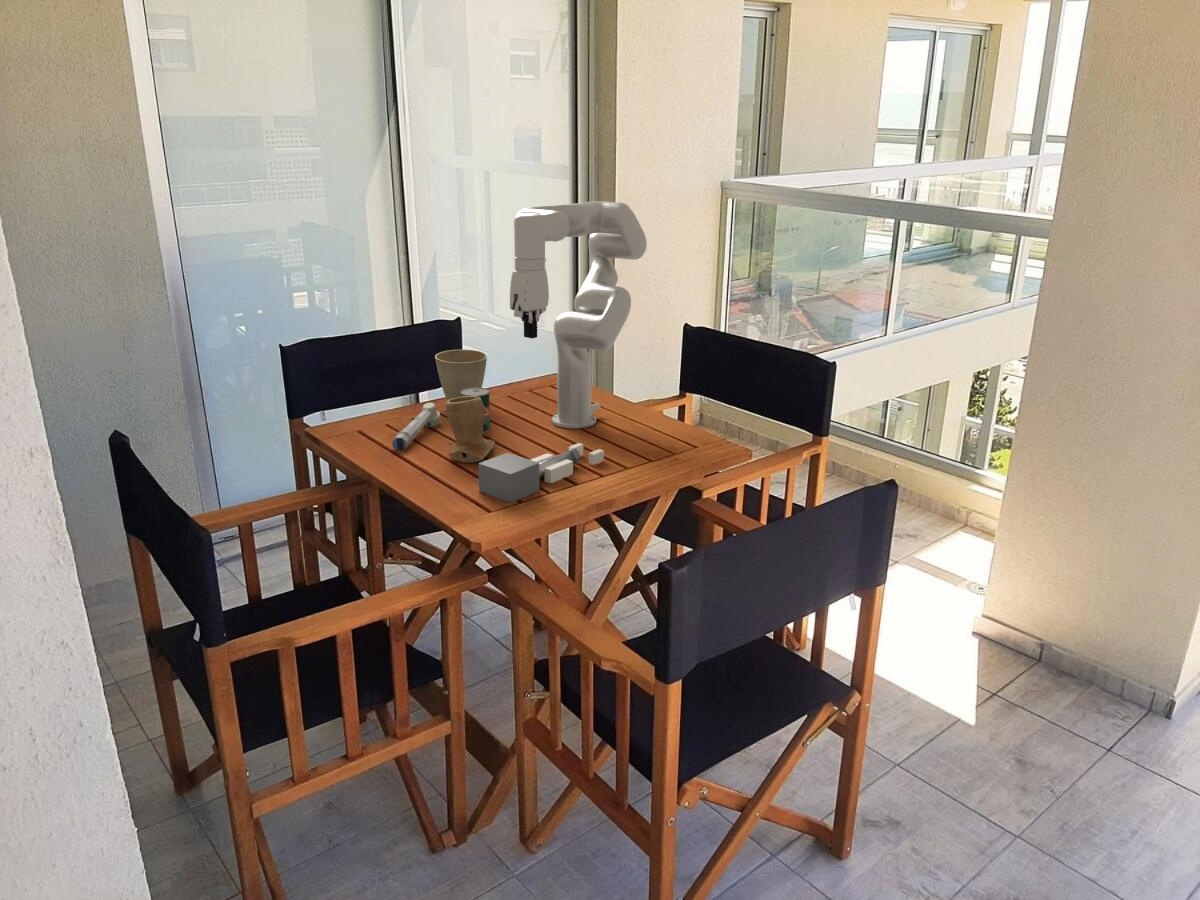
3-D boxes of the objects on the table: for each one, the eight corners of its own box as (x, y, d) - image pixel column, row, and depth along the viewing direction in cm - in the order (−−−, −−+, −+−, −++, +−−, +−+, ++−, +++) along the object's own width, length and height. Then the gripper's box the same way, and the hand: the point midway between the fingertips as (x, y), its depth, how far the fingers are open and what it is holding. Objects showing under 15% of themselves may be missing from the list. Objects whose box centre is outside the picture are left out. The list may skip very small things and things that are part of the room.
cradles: (578, 453, 242) (578, 441, 241) (603, 461, 237) (603, 448, 236) (525, 475, 228) (525, 461, 227) (550, 483, 223) (550, 470, 222)
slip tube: (567, 461, 236) (568, 446, 235) (580, 465, 234) (580, 450, 232) (500, 488, 219) (500, 472, 217) (512, 493, 216) (512, 477, 215)
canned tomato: (488, 434, 256) (487, 395, 252) (459, 433, 256) (458, 395, 252) (492, 425, 263) (491, 387, 259) (464, 424, 263) (462, 386, 259)
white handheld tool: (388, 436, 242) (423, 396, 263) (391, 459, 245) (426, 418, 266) (407, 438, 241) (441, 398, 262) (410, 461, 244) (443, 419, 265)
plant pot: (428, 412, 273) (425, 359, 268) (452, 398, 286) (450, 347, 281) (474, 418, 268) (472, 364, 263) (496, 404, 282) (495, 352, 276)
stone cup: (456, 443, 249) (454, 388, 244) (499, 446, 247) (498, 391, 242) (436, 462, 235) (433, 405, 230) (482, 466, 233) (480, 409, 228)
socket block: (508, 480, 225) (507, 452, 222) (539, 490, 219) (539, 462, 216) (479, 491, 218) (478, 463, 215) (510, 502, 212) (510, 474, 209)
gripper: (539, 259, 240) (539, 330, 246) (497, 266, 229) (499, 339, 235) (561, 263, 235) (561, 334, 242) (520, 269, 224) (520, 344, 231)
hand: (530, 337), depth 238 cm, fingers closed
